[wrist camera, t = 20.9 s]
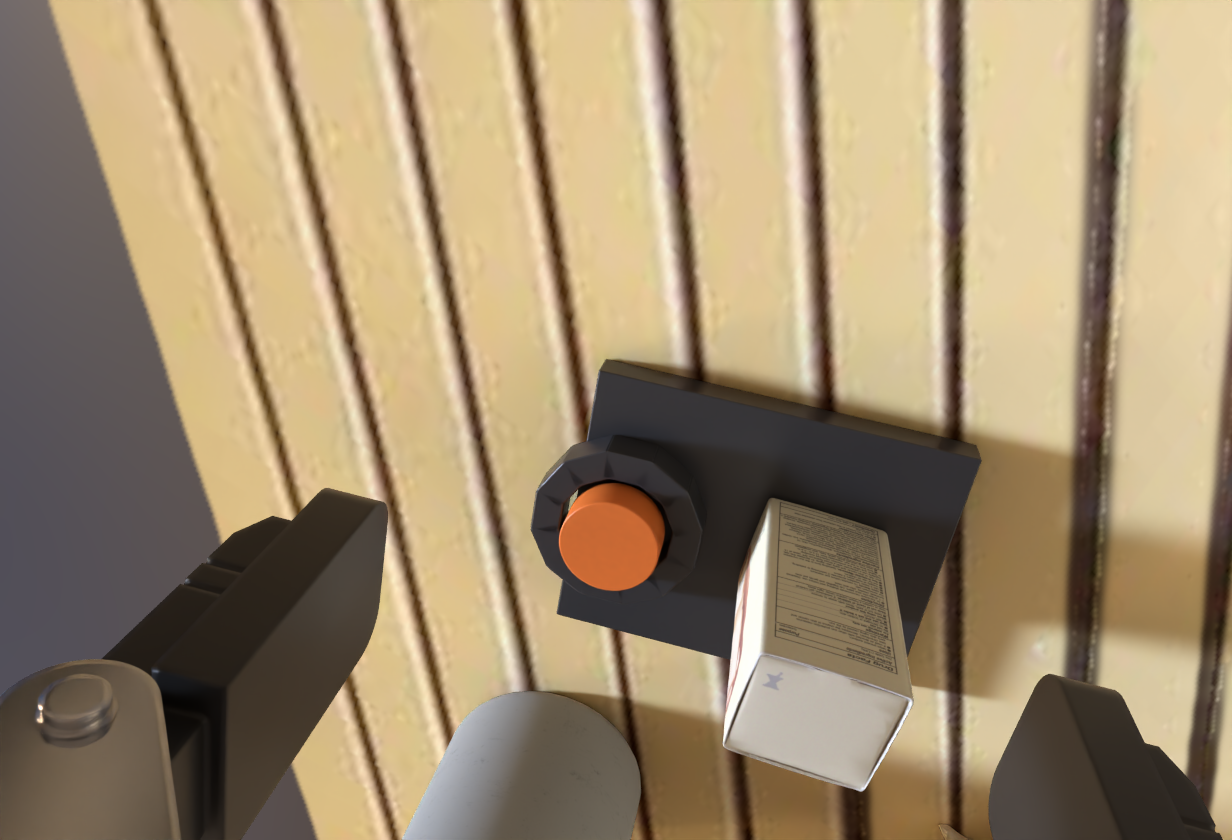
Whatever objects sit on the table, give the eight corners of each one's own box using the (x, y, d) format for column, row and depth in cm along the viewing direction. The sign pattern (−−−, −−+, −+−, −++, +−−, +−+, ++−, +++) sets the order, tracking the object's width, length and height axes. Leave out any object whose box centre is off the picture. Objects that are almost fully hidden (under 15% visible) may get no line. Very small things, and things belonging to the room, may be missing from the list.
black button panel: (533, 589, 44) (514, 627, 42) (571, 350, 39) (553, 376, 36) (888, 681, 43) (893, 727, 40) (977, 444, 37) (989, 479, 35)
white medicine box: (736, 578, 40) (711, 747, 31) (769, 491, 38) (753, 644, 29) (855, 618, 40) (865, 800, 31) (895, 533, 38) (918, 700, 29)
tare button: (562, 554, 40) (552, 577, 39) (576, 471, 38) (566, 492, 37) (655, 578, 40) (648, 602, 38) (674, 495, 38) (667, 517, 36)
